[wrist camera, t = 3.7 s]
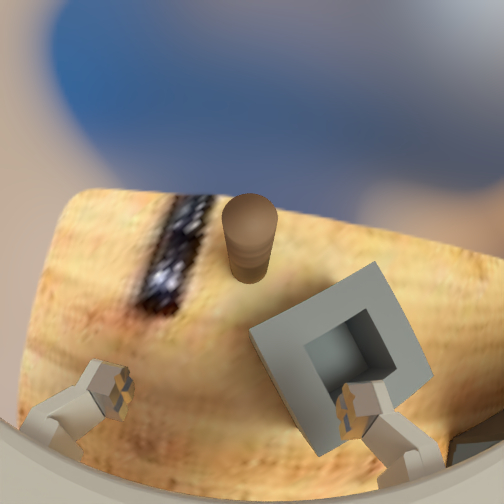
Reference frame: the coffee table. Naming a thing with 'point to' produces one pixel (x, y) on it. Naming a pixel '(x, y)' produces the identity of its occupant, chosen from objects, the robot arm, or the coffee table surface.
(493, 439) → the laptop
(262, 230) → the walnut peg
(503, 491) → the robot arm
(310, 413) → the socket block
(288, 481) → the coffee table surface
